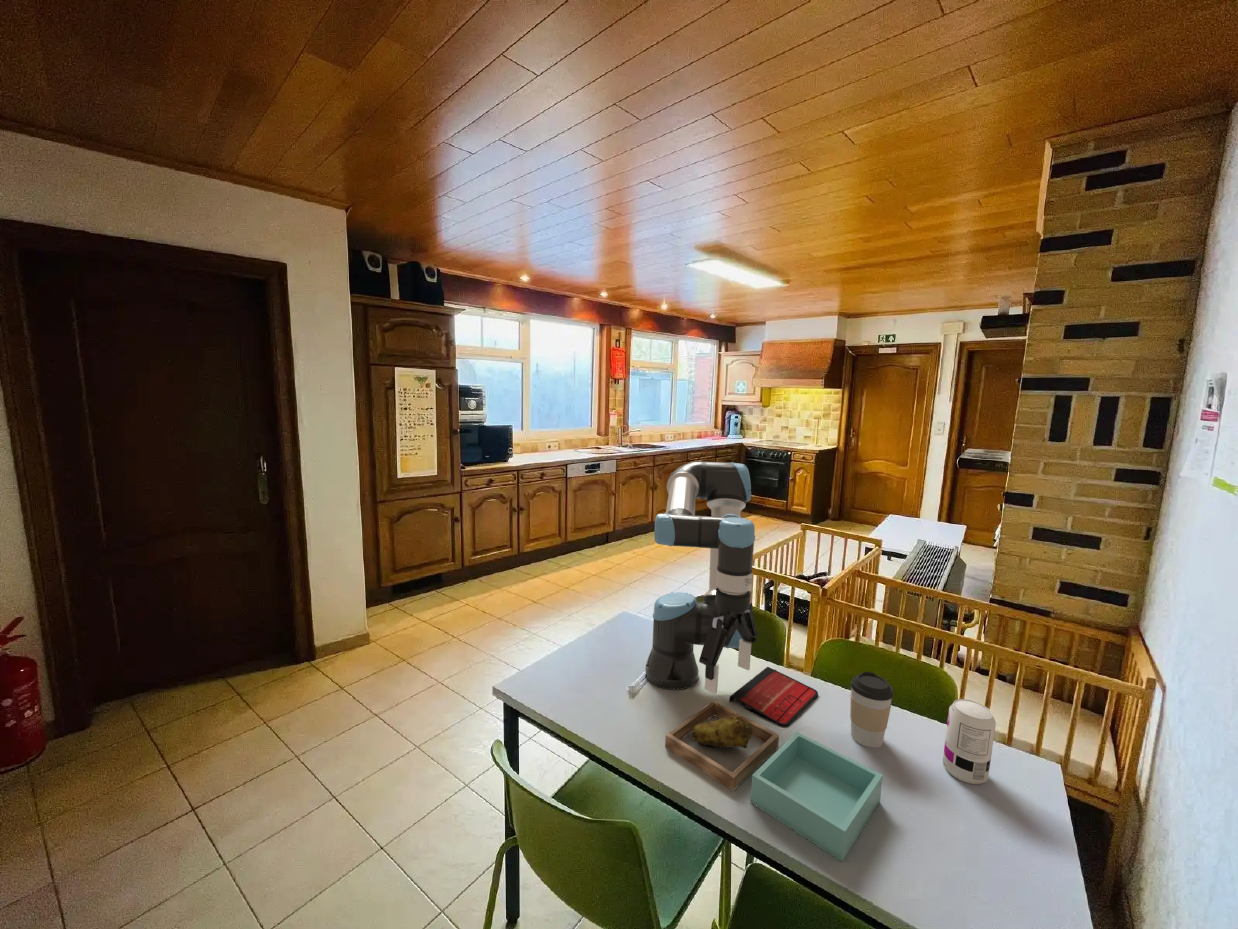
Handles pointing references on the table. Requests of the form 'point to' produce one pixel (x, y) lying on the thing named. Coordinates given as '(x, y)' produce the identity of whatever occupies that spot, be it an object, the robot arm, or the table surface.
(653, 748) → the table surface
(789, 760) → the tub
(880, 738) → the coffee cup
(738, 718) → the potato
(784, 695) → the binder
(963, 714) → the supplement can
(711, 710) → the frame
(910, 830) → the table surface
